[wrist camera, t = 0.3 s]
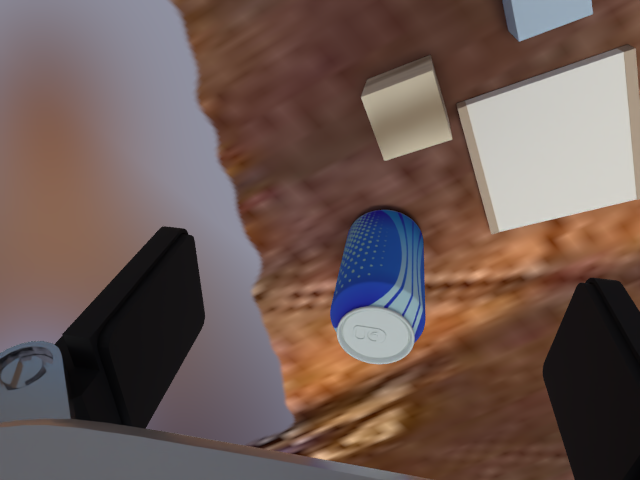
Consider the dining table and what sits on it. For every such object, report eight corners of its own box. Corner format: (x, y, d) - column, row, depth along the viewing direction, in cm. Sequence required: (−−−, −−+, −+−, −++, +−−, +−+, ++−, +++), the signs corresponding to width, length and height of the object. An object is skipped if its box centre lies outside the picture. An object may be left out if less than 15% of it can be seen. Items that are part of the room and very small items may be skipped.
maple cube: (367, 79, 42) (361, 97, 38) (430, 54, 40) (432, 70, 35) (387, 137, 45) (384, 161, 40) (448, 116, 43) (452, 139, 38)
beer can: (386, 189, 48) (375, 282, 35) (439, 238, 50) (447, 344, 37) (333, 233, 52) (306, 331, 39) (384, 277, 55) (374, 384, 42)
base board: (456, 103, 42) (457, 108, 41) (627, 44, 37) (635, 48, 36) (489, 226, 48) (491, 234, 47) (639, 189, 44) (647, 197, 42)
